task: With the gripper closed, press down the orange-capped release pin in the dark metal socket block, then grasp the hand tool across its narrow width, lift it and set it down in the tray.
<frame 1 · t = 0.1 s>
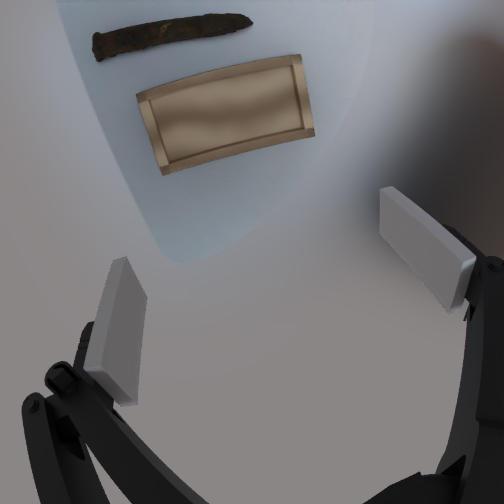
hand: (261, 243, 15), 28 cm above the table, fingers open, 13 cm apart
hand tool: (172, 29, 30), on the table
tray: (227, 109, 37), on the table
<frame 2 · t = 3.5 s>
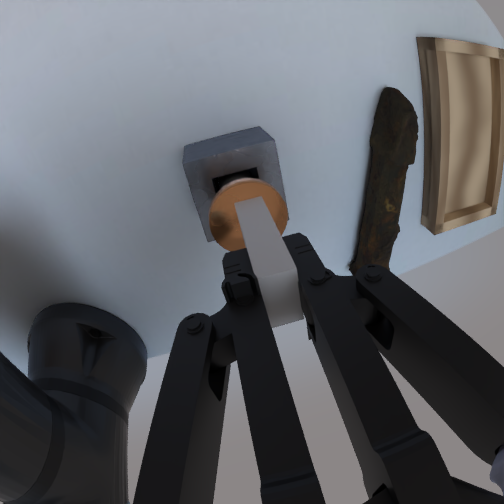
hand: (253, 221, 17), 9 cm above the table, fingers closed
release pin: (240, 196, 20), point 6 cm above the table, slide at 0.3 cm, touching gripper
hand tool: (368, 184, 28), on the table
tray: (460, 132, 26), on the table
socket block: (230, 170, 25), on the table
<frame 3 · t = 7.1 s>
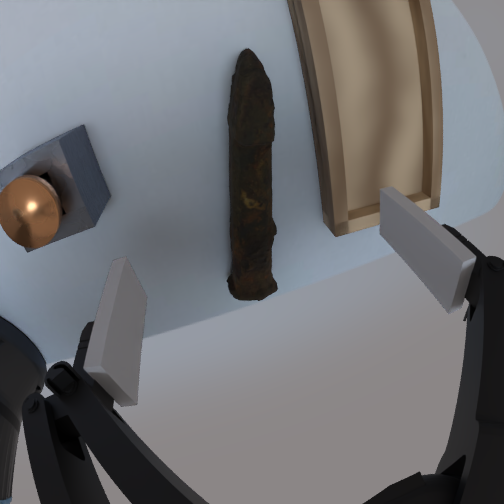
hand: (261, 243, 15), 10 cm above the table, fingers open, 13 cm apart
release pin: (46, 192, 17), point 4 cm above the table, slide at 2.3 cm
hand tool: (238, 175, 24), on the table
tray: (372, 99, 21), on the table
socket block: (64, 174, 20), on the table
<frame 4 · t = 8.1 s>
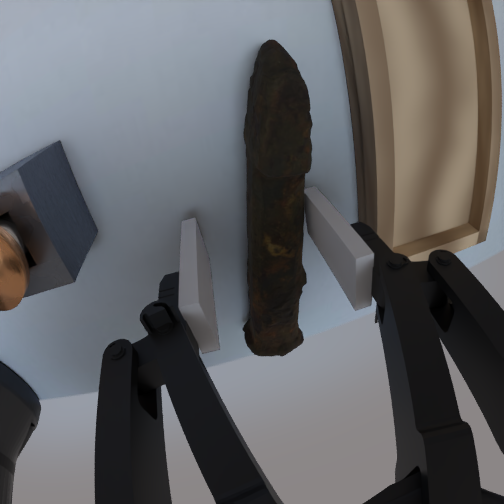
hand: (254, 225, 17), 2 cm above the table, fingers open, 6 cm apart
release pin: (14, 233, 13), point 4 cm above the table, slide at 2.3 cm
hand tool: (257, 206, 19), on the table, touching gripper
tray: (424, 113, 16), on the table
socket block: (39, 203, 16), on the table
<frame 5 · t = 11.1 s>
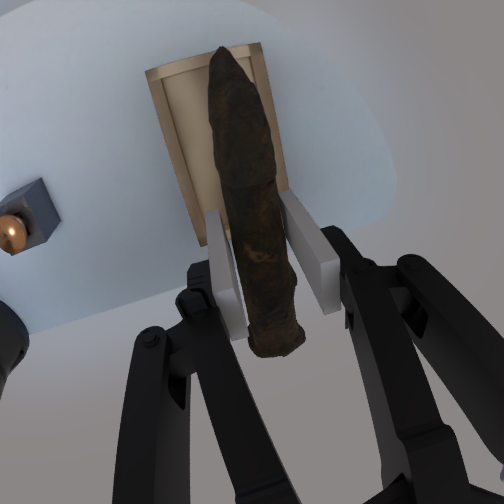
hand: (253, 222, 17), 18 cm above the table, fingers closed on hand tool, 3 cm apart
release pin: (21, 221, 28), point 4 cm above the table, slide at 2.3 cm
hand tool: (241, 212, 19), point 16 cm above the table, touching gripper
tray: (224, 144, 32), on the table
socket block: (33, 207, 31), on the table
when the fingers open (4 cm above the table, at t = 13.7 s): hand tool stays where it is, resting on tray.
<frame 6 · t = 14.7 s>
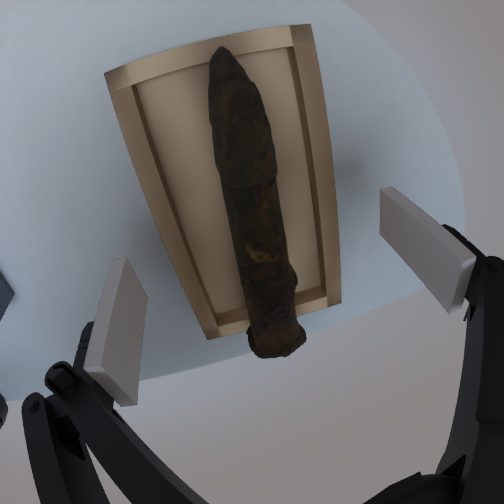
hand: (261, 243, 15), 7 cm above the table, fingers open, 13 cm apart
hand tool: (240, 212, 19), point 2 cm above the table, touching tray
tray: (242, 192, 21), on the table
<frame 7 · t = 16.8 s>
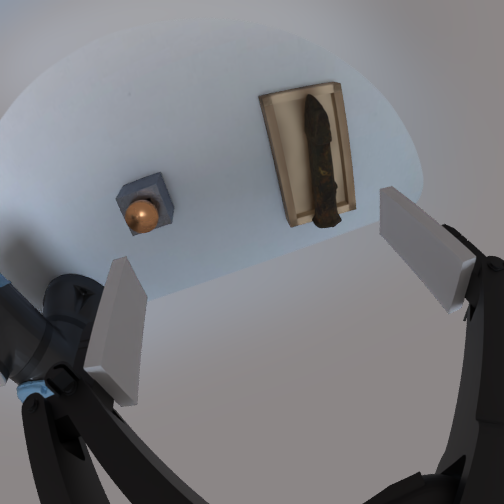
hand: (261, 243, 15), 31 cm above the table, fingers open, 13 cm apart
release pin: (145, 206, 41), point 4 cm above the table, slide at 2.3 cm
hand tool: (312, 159, 43), point 2 cm above the table, touching tray
tray: (309, 152, 44), on the table
socket block: (148, 196, 44), on the table
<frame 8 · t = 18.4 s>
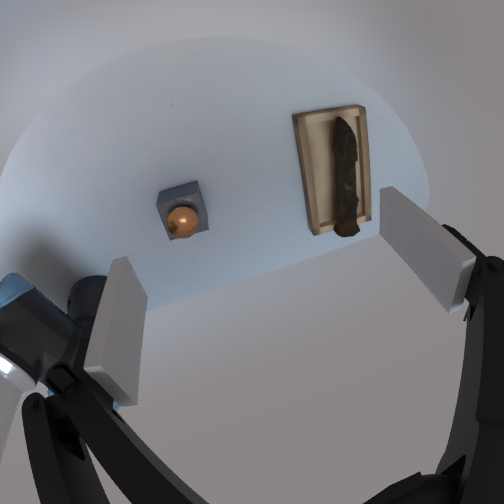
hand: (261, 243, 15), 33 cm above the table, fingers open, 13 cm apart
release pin: (183, 213, 45), point 4 cm above the table, slide at 2.3 cm
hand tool: (336, 175, 47), point 2 cm above the table, touching tray
tray: (333, 168, 49), on the table
socket block: (183, 203, 48), on the table
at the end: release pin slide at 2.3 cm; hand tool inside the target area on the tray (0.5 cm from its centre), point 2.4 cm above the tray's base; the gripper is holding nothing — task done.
